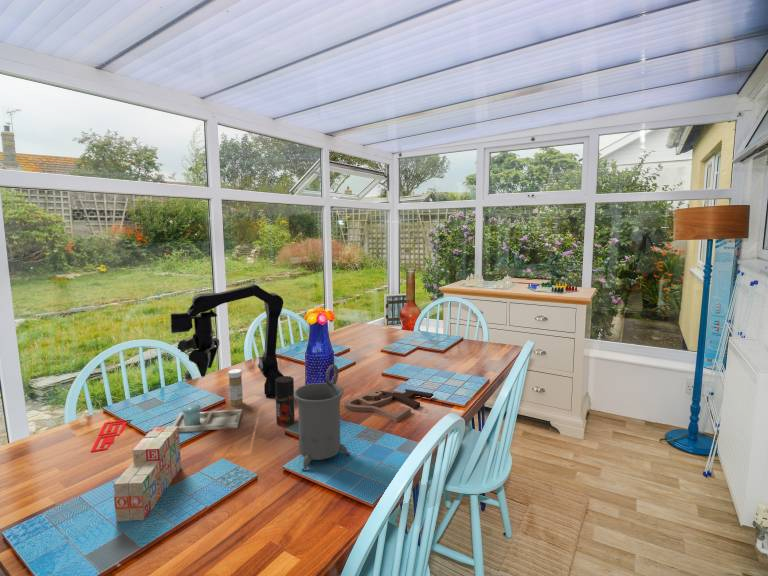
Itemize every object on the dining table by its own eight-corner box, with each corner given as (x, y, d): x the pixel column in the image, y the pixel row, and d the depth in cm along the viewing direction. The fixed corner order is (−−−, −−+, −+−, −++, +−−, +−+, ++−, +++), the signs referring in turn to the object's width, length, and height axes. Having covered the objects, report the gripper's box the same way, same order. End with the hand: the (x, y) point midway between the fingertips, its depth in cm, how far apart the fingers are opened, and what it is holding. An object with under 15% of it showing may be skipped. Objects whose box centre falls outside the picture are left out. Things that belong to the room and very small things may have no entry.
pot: (203, 419, 143) (202, 403, 142) (199, 426, 138) (198, 410, 137) (185, 420, 142) (184, 404, 141) (181, 428, 137) (180, 411, 136)
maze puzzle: (104, 424, 142) (104, 422, 142) (171, 414, 150) (171, 412, 150) (90, 453, 124) (90, 451, 124) (168, 440, 132) (167, 438, 131)
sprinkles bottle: (239, 402, 159) (237, 367, 157) (245, 406, 156) (244, 370, 154) (227, 406, 156) (225, 370, 154) (233, 410, 152) (232, 373, 151)
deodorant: (297, 419, 145) (297, 377, 143) (288, 427, 140) (287, 383, 138) (282, 417, 147) (281, 375, 145) (272, 424, 142) (271, 381, 140)
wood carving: (433, 398, 165) (383, 385, 178) (434, 393, 164) (383, 380, 178) (393, 426, 142) (339, 408, 156) (393, 420, 142) (339, 403, 155)
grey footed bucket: (326, 478, 112) (324, 386, 108) (280, 465, 118) (277, 378, 114) (359, 445, 129) (359, 365, 125) (318, 435, 135) (316, 358, 131)
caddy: (241, 415, 148) (241, 409, 148) (237, 430, 137) (237, 423, 137) (180, 420, 144) (179, 413, 144) (170, 435, 134) (169, 428, 133)
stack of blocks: (145, 521, 95) (140, 470, 94) (115, 522, 95) (110, 471, 93) (181, 467, 116) (178, 425, 115) (157, 468, 116) (154, 425, 114)
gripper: (187, 324, 159) (190, 365, 162) (170, 337, 141) (174, 382, 143) (218, 323, 161) (221, 363, 163) (206, 336, 143) (209, 380, 145)
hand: (206, 372), depth 154 cm, fingers open, 9 cm apart
